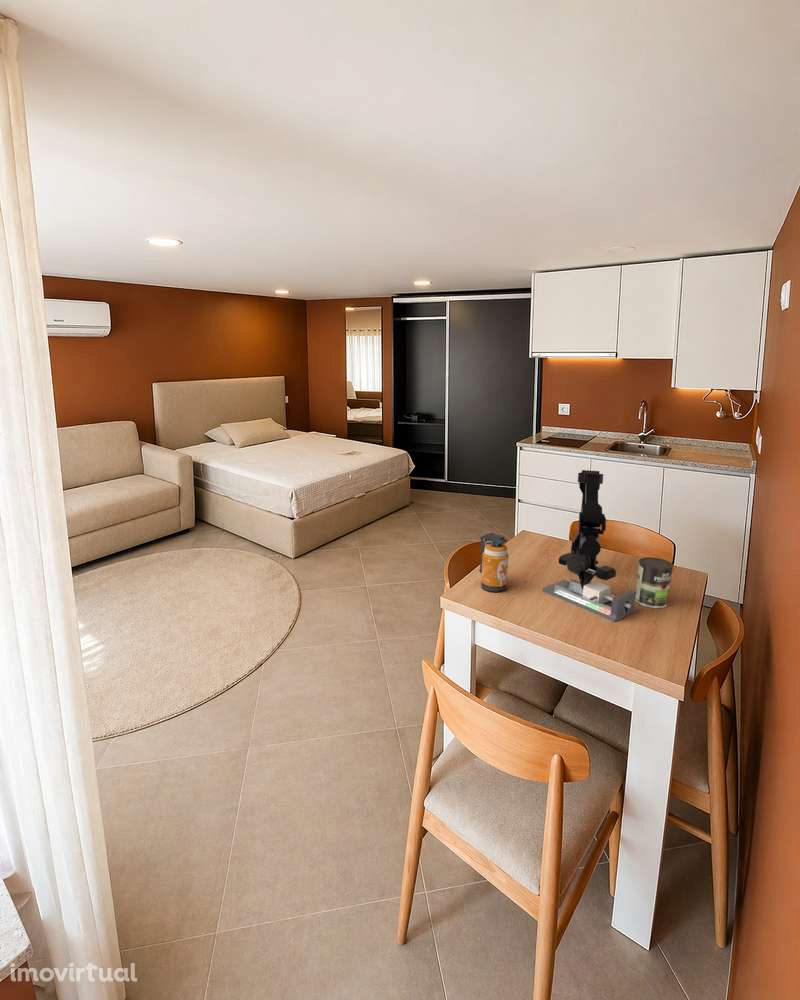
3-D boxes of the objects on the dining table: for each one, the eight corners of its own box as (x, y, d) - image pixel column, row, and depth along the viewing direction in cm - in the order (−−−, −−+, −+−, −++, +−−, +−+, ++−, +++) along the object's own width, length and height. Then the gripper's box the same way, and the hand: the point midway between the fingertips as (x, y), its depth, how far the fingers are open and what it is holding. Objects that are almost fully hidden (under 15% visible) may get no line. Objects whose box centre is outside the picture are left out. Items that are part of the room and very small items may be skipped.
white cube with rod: (593, 594, 186) (595, 581, 184) (634, 610, 174) (636, 596, 173) (576, 601, 180) (578, 587, 179) (617, 619, 169) (619, 604, 167)
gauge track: (563, 582, 199) (565, 564, 197) (635, 611, 177) (637, 591, 175) (542, 590, 192) (543, 571, 190) (614, 621, 170) (616, 600, 168)
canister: (495, 595, 188) (498, 540, 183) (471, 585, 196) (473, 532, 191) (511, 588, 194) (515, 535, 188) (488, 578, 202) (490, 527, 196)
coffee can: (674, 606, 181) (680, 566, 177) (648, 610, 178) (653, 569, 174) (652, 593, 190) (658, 555, 186) (627, 596, 188) (632, 558, 184)
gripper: (550, 543, 183) (546, 586, 187) (598, 559, 169) (593, 605, 173) (570, 536, 189) (566, 578, 194) (619, 552, 175) (613, 597, 179)
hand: (583, 589), depth 185 cm, fingers closed
